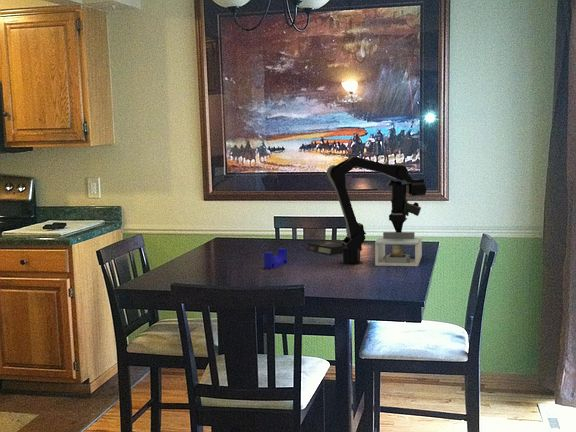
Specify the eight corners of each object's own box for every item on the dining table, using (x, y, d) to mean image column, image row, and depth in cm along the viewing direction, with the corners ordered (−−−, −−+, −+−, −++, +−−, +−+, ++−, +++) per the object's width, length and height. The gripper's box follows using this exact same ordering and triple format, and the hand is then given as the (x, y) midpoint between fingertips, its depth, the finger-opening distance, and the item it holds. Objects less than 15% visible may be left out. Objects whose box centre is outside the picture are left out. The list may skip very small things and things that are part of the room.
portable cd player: (307, 252, 309) (307, 243, 308) (338, 248, 318) (338, 239, 318) (330, 257, 295) (329, 247, 295) (361, 252, 304) (361, 243, 304)
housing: (417, 266, 266) (417, 245, 265) (375, 265, 270) (375, 245, 269) (421, 255, 289) (421, 236, 288) (382, 255, 293) (382, 236, 292)
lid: (417, 244, 265) (417, 236, 265) (375, 244, 269) (375, 235, 269) (419, 240, 276) (419, 232, 276) (378, 240, 280) (378, 232, 280)
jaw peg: (397, 262, 270) (396, 245, 269) (390, 261, 273) (389, 244, 273) (405, 260, 272) (404, 243, 271) (398, 259, 275) (397, 243, 275)
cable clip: (277, 263, 283) (276, 248, 282) (287, 263, 280) (286, 248, 280) (261, 268, 272) (260, 252, 272) (271, 268, 270) (270, 253, 269)
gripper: (418, 198, 266) (418, 239, 268) (421, 194, 284) (421, 233, 286) (388, 199, 269) (389, 239, 271) (393, 194, 287) (393, 233, 289)
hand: (399, 236), depth 279 cm, fingers closed
